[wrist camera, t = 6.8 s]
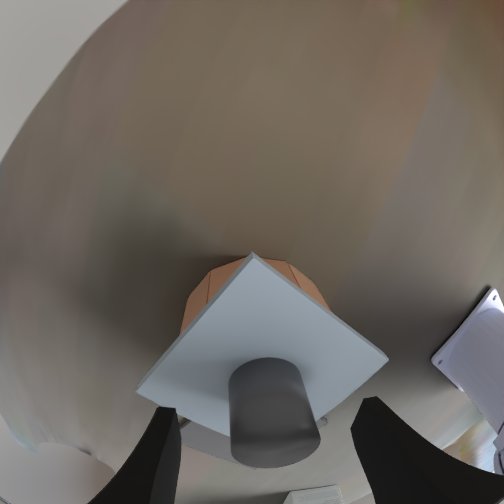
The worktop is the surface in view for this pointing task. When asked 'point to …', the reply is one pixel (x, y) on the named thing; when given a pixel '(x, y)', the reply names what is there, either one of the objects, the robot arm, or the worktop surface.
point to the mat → (214, 440)
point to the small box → (316, 496)
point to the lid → (262, 367)
